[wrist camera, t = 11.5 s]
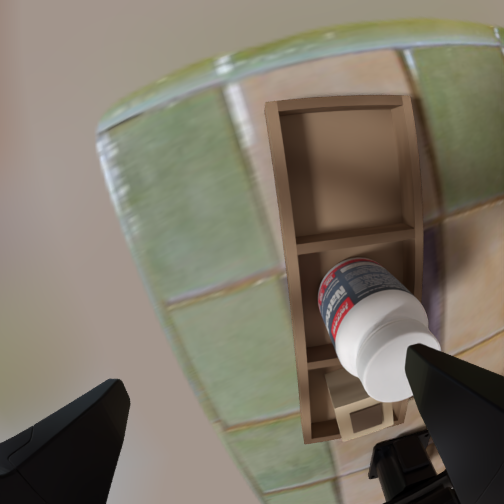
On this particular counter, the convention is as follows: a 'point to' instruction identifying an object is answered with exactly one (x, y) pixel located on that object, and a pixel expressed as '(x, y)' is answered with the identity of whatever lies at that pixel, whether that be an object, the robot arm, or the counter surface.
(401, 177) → the bay tray
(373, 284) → the pill bottle
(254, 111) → the counter surface
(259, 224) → the counter surface
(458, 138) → the counter surface
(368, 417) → the tan hollow cube
